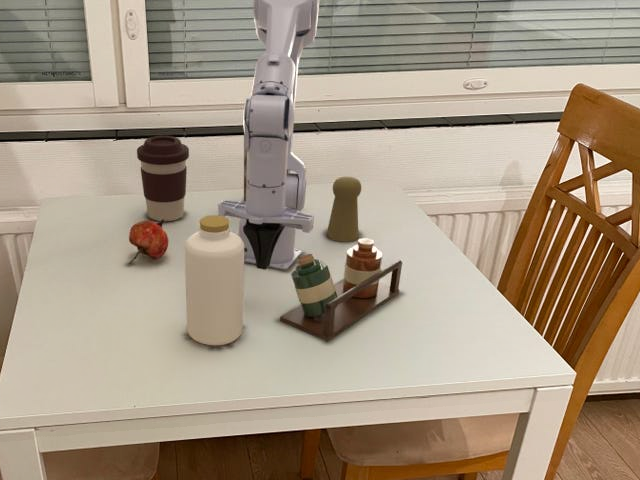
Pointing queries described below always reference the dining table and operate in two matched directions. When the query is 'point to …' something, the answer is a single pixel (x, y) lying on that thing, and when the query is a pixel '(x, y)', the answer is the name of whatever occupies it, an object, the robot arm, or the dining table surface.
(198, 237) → the cream white bottle
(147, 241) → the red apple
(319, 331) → the rack
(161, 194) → the coffee cup
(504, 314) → the dining table surface
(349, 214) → the olive pawn
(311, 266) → the green bottle
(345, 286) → the amber bottle
